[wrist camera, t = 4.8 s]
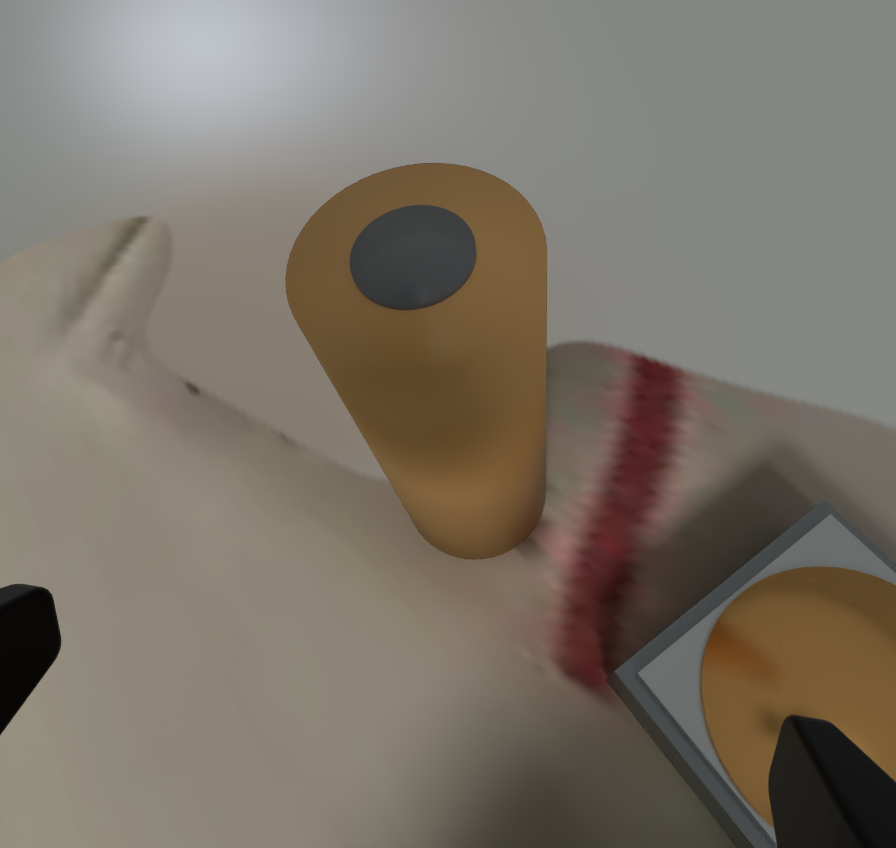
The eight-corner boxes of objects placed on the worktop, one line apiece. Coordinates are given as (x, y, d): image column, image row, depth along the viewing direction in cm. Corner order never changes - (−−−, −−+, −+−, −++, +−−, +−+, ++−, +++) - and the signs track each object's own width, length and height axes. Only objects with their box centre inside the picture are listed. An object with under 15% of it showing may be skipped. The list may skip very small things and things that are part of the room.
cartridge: (460, 588, 22) (371, 420, 11) (381, 480, 24) (239, 245, 13) (575, 502, 23) (605, 261, 11) (489, 404, 25) (444, 121, 14)
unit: (828, 964, 16) (888, 1010, 13) (605, 679, 20) (616, 668, 17) (1038, 759, 18) (1132, 761, 15) (793, 526, 21) (831, 492, 18)
